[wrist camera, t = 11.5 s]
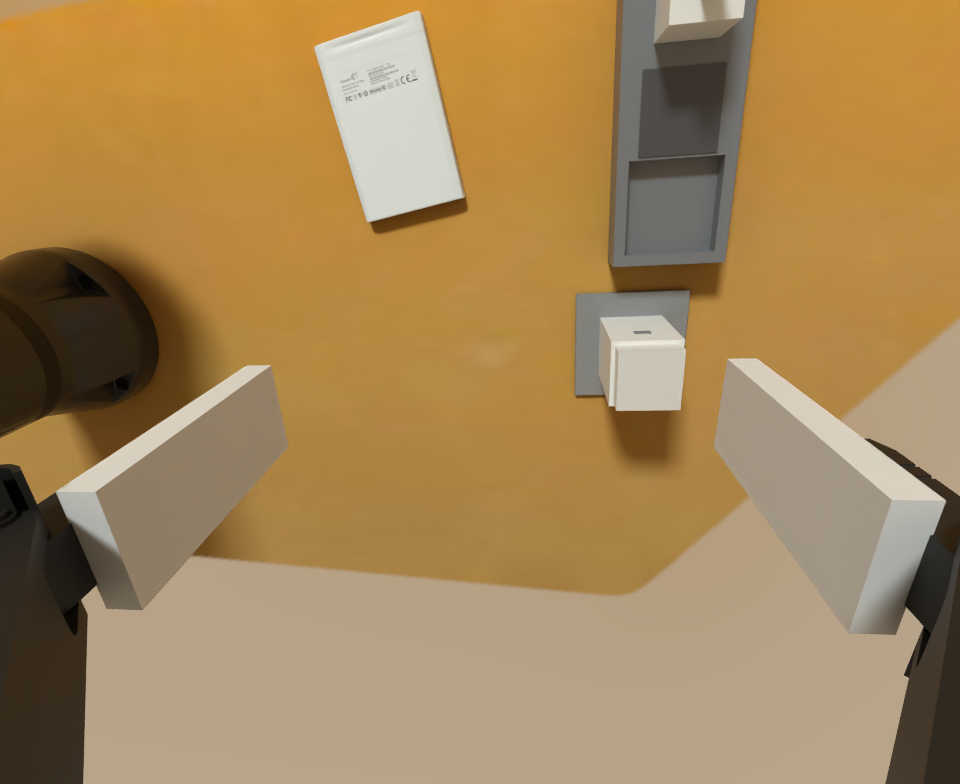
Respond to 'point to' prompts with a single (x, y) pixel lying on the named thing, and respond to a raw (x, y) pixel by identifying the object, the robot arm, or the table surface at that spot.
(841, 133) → the table surface
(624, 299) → the mat
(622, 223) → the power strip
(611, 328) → the block
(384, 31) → the external hard drive
